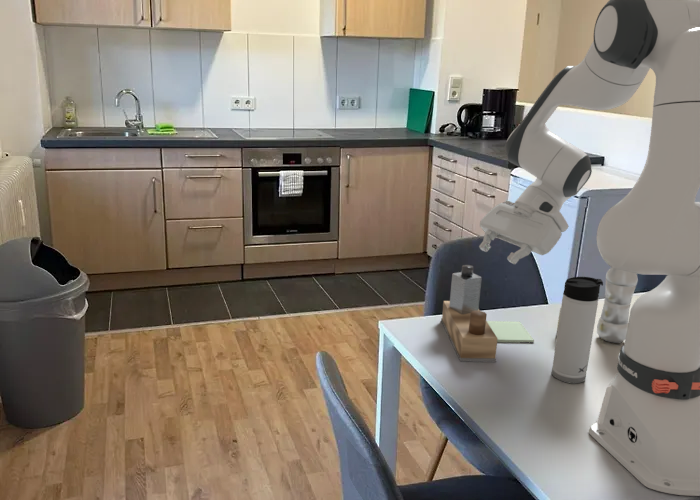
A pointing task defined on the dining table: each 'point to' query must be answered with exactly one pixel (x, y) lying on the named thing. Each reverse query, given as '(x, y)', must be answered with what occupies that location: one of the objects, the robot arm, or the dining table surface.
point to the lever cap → (465, 291)
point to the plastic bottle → (616, 305)
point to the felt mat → (510, 331)
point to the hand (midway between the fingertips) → (496, 255)
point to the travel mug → (576, 328)
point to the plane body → (470, 334)
